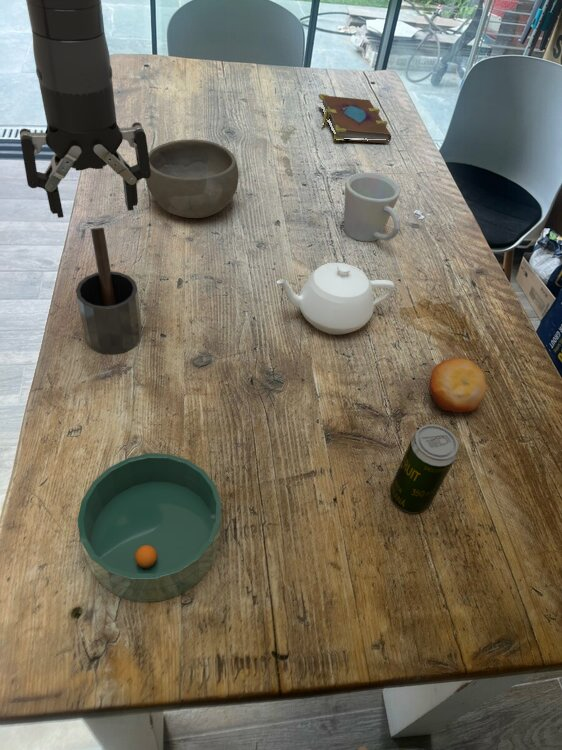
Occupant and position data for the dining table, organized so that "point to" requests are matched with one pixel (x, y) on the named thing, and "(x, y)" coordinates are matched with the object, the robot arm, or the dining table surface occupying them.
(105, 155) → the robot arm
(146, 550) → the ball
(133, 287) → the crock
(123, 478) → the mixing bowl
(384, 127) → the book
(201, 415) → the dining table surface
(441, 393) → the fruit
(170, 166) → the bowl
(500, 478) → the dining table surface
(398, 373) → the dining table surface
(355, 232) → the mug
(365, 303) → the teapot
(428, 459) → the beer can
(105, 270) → the stick
